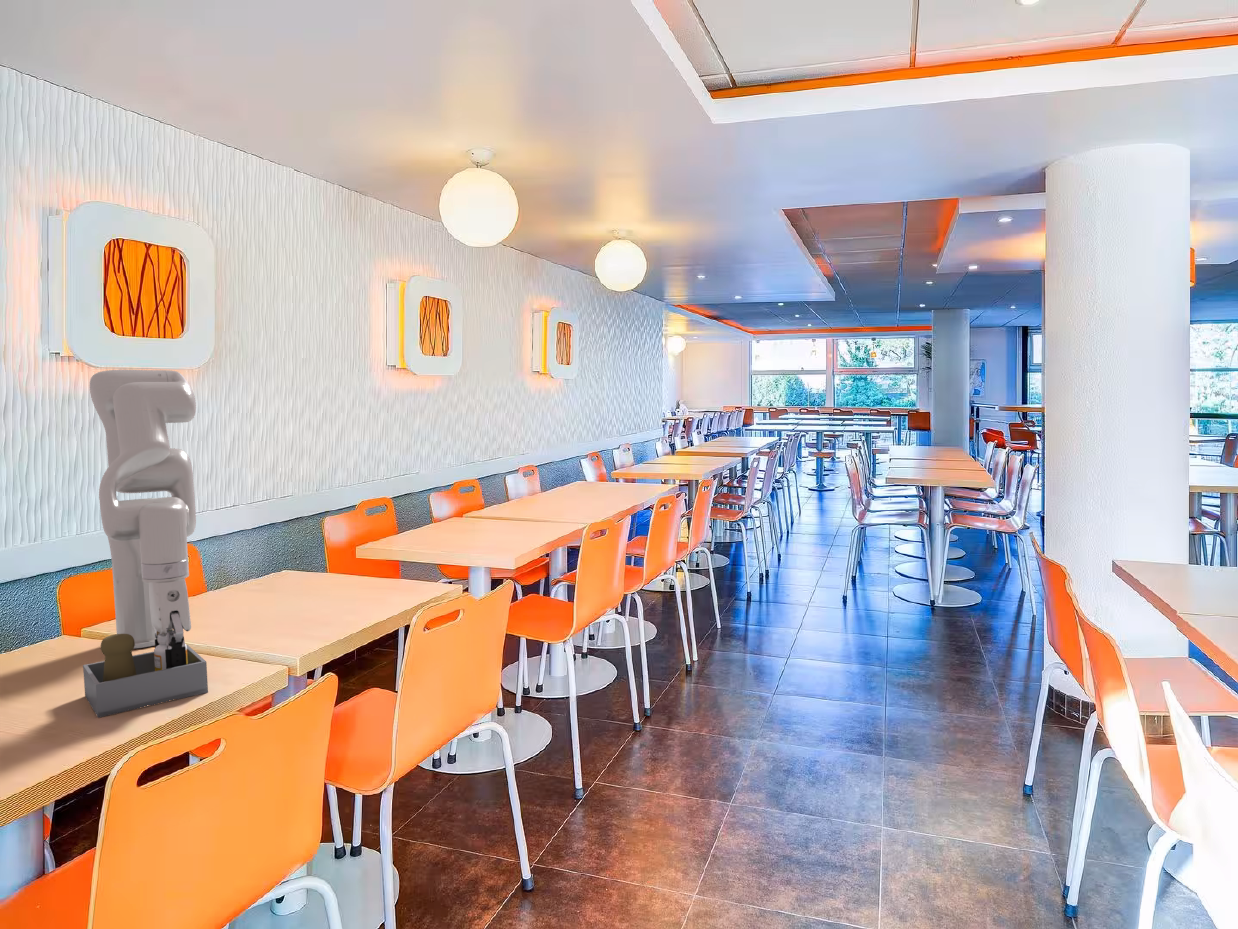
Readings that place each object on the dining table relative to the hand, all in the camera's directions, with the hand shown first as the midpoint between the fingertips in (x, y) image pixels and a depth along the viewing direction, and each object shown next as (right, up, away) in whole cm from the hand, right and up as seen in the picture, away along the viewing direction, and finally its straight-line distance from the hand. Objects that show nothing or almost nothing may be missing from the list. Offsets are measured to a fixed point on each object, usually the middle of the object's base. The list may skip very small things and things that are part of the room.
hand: (171, 663), depth 150 cm
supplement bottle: (0, -4, 0) cm, 4 cm away
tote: (-3, -5, -2) cm, 6 cm away
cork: (-6, -5, -5) cm, 9 cm away
